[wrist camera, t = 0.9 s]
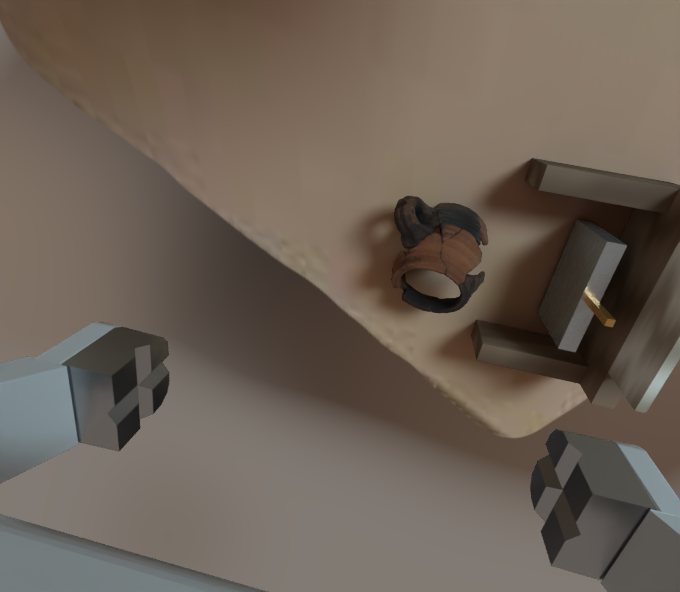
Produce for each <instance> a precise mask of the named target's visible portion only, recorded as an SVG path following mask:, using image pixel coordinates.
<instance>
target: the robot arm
mask: <svg viewBox="0 0 680 592" xmlns="http://www.w3.org/2000/svg"><path fill="white" fill-rule="evenodd" d="M168 355H169V351H168V342H167V341H166V340H165V339H164V338H163V337H160V336H156V335H153V334H149V333H145V332H141V331H137V330H133V329H129V328H125V327H120V326H117V325H113V324H108V323H104V322H93V323H92V324H90V325H88V326H87V327H85V328H83V329H82V330H80V331H78V332H77V333H75V334H74V335H72V336H70V337H69V338H67V339H65V340H64V341H62V342H61V343H59V344H57V345H56V346H54V347H52V348H51V349H49V350H47V351H46V352H44V353H43V354H41V355H39V356H38V357H36V358H32V357H23V358H20V359H15V360H10V361H6V362H2V363H0V484H1V483H3V482H5V481H7V480H9V479H11V478H13V477H15V476H17V475H19V474H20V473H23V472H25V471H27V470H29V469H31V468H33V467H35V466H36V465H39V464H41V463H42V462H45V461H47V460H49V459H51V458H53V457H55V456H57V455H59V454H61V453H62V452H65V451H67V450H69V449H71V448H73V447H75V446H77V445H78V444H79V443H78V442H80V443H85V444H89V445H93V446H97V447H101V448H106V449H110V450H115V451H120V450H121V449H122V448H123V447H124V446H125V445H126V443H127V442H128V441H129V440H130V439H131V438H132V437H133V436H134V434H136V432H137V431H138V430H139V429H140V419H142V418H145V417H147V416H150V415H152V414H154V413H155V411H156V410H157V409H158V408H159V407H160V406H161V404H162V402H163V400H164V398H165V396H166V394H167V391H168V386H169V371H168V370H167V368H166V367H165V365H164V364H163V361H164V359H166V358H167V357H168ZM545 445H546V447H547V450H548V453H549V455H547V456H545V457H543V458H542V459H540V460H538V461H537V463H536V465H535V468H534V470H533V472H532V477H531V485H530V491H531V499H532V503H533V506H534V510H535V511H536V512H537V514H538V515H539V516H540V517H541V518H542V519H543V520H544V521H545V525H544V526H543V528H542V530H541V533H542V537H543V540H544V544H545V547H546V550H547V553H548V557H549V560H550V563H551V566H553V567H557V568H561V569H564V570H567V571H570V572H574V573H577V574H581V575H585V576H587V577H591V578H594V579H598V580H601V581H602V582H601V584H602V585H603V586H604V588H605V589H606V590H607V591H608V592H680V500H679V498H678V497H677V496H676V494H675V493H674V491H673V490H672V488H671V487H670V485H669V484H668V483H667V481H666V480H665V478H664V477H663V475H662V474H661V473H660V471H659V470H658V468H657V467H656V465H655V464H654V462H653V461H652V460H651V458H650V457H649V455H648V454H647V452H646V451H645V450H643V449H642V448H640V447H639V446H636V445H631V444H626V443H621V442H616V441H611V440H610V441H608V440H604V439H599V438H595V437H590V436H586V435H581V434H577V433H572V432H567V431H563V430H558V429H555V430H554V431H553V432H552V433H551V434H550V435H549V437H548V440H547V441H546V444H545ZM0 592H267V591H263V590H260V589H257V588H253V587H249V586H246V585H243V584H239V583H236V582H233V581H229V580H226V579H222V578H219V577H215V576H212V575H209V574H205V573H201V572H198V571H195V570H191V569H188V568H184V567H181V566H178V565H174V564H171V563H167V562H164V561H160V560H157V559H153V558H150V557H147V556H143V555H140V554H136V553H133V552H129V551H126V550H122V549H119V548H116V547H112V546H109V545H105V544H102V543H98V542H94V541H91V540H88V539H84V538H80V537H78V536H74V535H70V534H67V533H64V532H60V531H57V530H53V529H50V528H46V527H43V526H40V525H36V524H32V523H29V522H25V521H22V520H19V519H15V518H12V517H8V516H5V515H2V514H0Z"/></svg>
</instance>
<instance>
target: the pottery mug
mask: <svg viewBox="0 0 680 592" xmlns="http://www.w3.org/2000/svg"><path fill="white" fill-rule="evenodd" d="M394 219H395V223H396V226H397V228H398V230H399V232H400V233H401V242H402V245H403V246H404V247H405V248H411V249H410V250H409V252H408V253H407V254H406V253H405V252H404V251H400V253H399V254H398V256H397V257H396V259H395V261H394V264H393V268H392V273H393V274H392V278H391V281H392V286H393V287H394V288H400V287H401V288H402V289H403V290H404V292H403V294H402V300H403V301H405V302H406V303H408V304H409V305H412V306H413V307H415V308H418V309H421V310H424V311H428V312H430V311H431V312H434V313H449V312H455V311H457V310H459V309H461V308H462V307H463V306H464V305H465V304H466V303H467V301H468V300H469V298H470V297H471V294H473V293H474V292H475V291H476V290H477V289H478V287H479V286H480V284H481V283H482V282H483V281H484V276H485V273H484V272H480V273H479V274H478V275H469V274H467V273H468V272H470V271H472V270H473V268H475V267H476V266H477V265H478V264H479V263H480V262H481V258H482V252H481V250H480V248H479V245H480V241H482V244H483V245H487V244H488V236H487V229H486V226H485V224H484V222H483V221H482V219H481V218H480V217H479V216H478V215H477V214H476V213H475V212H474V211H472V210H470V209H469V208H467V207H464V206H462V205H459V204H455V203H440V204H439V205H438V207H437V208H436V209H434V208H431V207H429V206H428V205H427V204H425V203H424V201H423V200H422V199H420V198H419V197H413V196H406V197H404V198H403V199H400V200H399V201H398V203H397V206H396V208H395V212H394ZM437 226H439V227H440V231H441V234H439V233H437V232H432V231H433V229H434V228H435V227H437ZM414 269H425V270H432V271H436V272H438V273H441V274H444V275H445V276H447V277H449V278H450V279H451V280H453V281H454V282H455V283H456V284H457V285H458V286H459V289H460V292H461V294H460V296H459V297H456V298H446V299H439V298H437V297H433V296H428V295H424V294H422V293H419V292H418V291H416V290H415V289H414V288H413V287H411V286H410V285H409V284H408V283H407V282H406V277H405V273H406V272H407V271H409V270H414Z"/></svg>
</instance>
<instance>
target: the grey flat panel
mask: <svg viewBox="0 0 680 592" xmlns="http://www.w3.org/2000/svg"><path fill="white" fill-rule="evenodd" d="M626 247H627V245H626V244H625V243H623V242H622V241H620V240H619V239H617V238H616V237H614V236H613V235H611V234H610V233H608V232H607V231H605V230H604V229H602V228H601V227H599V226H598V225H596V224H595V223H593V222H587V221H582V220H576V223H575V225H574V227H573V230H572V232H571V235H570V237H569V239H568V242H567V244H566V247H565V249H564V251H563V254H562V256H561V259H560V261H559V263H558V266H557V268H556V271H555V273H554V275H553V278H552V280H551V283H550V285H549V287H548V290H547V292H546V295H545V297H544V299H543V302H542V304H541V307H540V309H539V311H538V314H539V316H540V318H541V320H542V321H543V323H544V325H545V327H546V328H547V330H548V332H549V334H550V335H551V337H552V339H553V341H554V342H555V344H556V346H557V348H558V349H562V350H567V351H572V352H576V350H577V348H578V346H579V344H580V342H581V340H582V338H583V336H584V334H585V331H586V329H587V327H588V325H589V323H590V321H591V319H592V317H593V315H594V314H595V315H596V316H597V318H598V319H599V320H600V321H601V322H602V324H603V325H604V326H608V327H613V326H614V324H615V322H616V320H615V319H614V318H613V316H612V315H611V314H610V313H609V312H608V311H607V310H606V309H605V308H604V307H603V305H602V304H601V303H600V301H601V299H602V297H603V294H604V292H605V290H606V288H607V286H608V284H609V282H610V280H611V278H612V276H613V274H614V272H615V270H616V268H617V266H618V264H619V262H620V259H621V257H622V255H623V253H624V251H625V249H626Z"/></svg>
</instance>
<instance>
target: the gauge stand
mask: <svg viewBox="0 0 680 592" xmlns="http://www.w3.org/2000/svg"><path fill="white" fill-rule="evenodd" d="M525 181H526V182H528V183H529V184H530V185H532V186H533V187H535V188H536V189H538V190H540V191H546V192H551V193H556V194H562V195H567V196H573V197H578V198H584V199H589V200H594V201H600V202H605V203H611V204H616V205H622V206H627V207H632V208H634V209H633V211H632V213H631V215H630V218H629V220H628V222H627V224H626V226H625V228H624V230H623V232H622V234H621V237H620V239H619V240H620V241H622V242H623V243H625V244H626V245H627V247H626V249H625V251H624V253H623V255H622V257H621V259H620V262H619V264H618V266H617V268H616V270H615V272H614V274H613V276H612V278H611V280H610V282H609V284H608V286H607V288H606V290H605V292H604V294H603V297H602V299H601V301H600V303H601V304H602V305H603V307H604V308H605V309H606V310H607V311H608V312H609V313H610V314H611V315H612V316H613V318H614V319H615V320H616V322H615V324H614V326H613V327H608V326H604V325H603V324H602V322H601V321H600V320H599V319H598V318H597V316H596V315H595V314H594V315H593V317H592V319H591V321H590V323H589V325H588V327H587V329H586V331H585V334H584V336H583V338H582V340H581V342H580V344H579V346H578V348H577V350H576V352H572V351H567V350H562V349H558V348H557V346H556V344H555V342H554V341H553V339H552V337H551V336H548V335H544V334H539V333H534V332H530V331H525V330H521V329H516V328H511V327H507V326H502V325H498V324H493V323H488V322H484V321H479V320H477V321H476V324H475V326H474V329H473V332H472V335H471V336H472V341H473V345H474V350H475V354H476V359H477V361H482V362H486V363H490V364H495V365H499V366H504V367H508V368H513V369H517V370H521V371H526V372H530V373H535V374H539V375H543V376H548V377H552V378H557V379H561V380H565V381H570V382H574V383H579V384H580V385H581V387H582V388H583V390H584V392H585V394H586V395H587V397H588V399H589V400H590V402H591V404H595V405H599V406H604V407H608V408H613V409H614V408H615V406H616V405H617V403H618V401H619V399H620V398H621V396H622V394H623V395H624V396H625V397H626V399H627V400H628V402H629V403H630V405H631V406H632V407H633V409H634V410H635V411H639V412H644V413H646V412H647V410H648V408H649V407H650V405H651V404H652V402H653V400H654V399H655V397H656V396H657V394H658V392H659V391H660V389H661V388H662V386H663V384H664V383H665V381H666V379H667V378H668V376H669V375H670V373H671V372H672V370H673V368H674V367H675V365H676V364H677V362H678V360H679V359H680V185H677V184H674V183H670V182H664V181H659V180H653V179H647V178H642V177H636V176H630V175H625V174H619V173H613V172H608V171H602V170H596V169H591V168H585V167H580V166H574V165H568V164H563V163H557V162H551V161H546V160H540V159H534V158H532V161H531V164H530V167H529V170H528V173H527V175H526V178H525Z"/></svg>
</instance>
